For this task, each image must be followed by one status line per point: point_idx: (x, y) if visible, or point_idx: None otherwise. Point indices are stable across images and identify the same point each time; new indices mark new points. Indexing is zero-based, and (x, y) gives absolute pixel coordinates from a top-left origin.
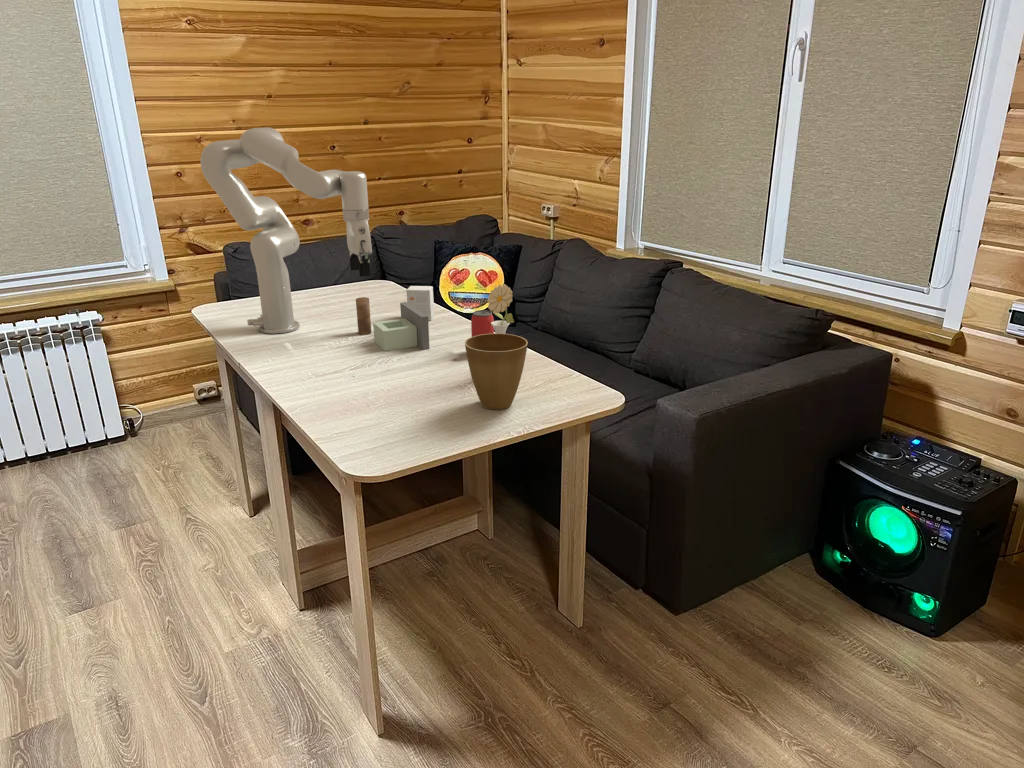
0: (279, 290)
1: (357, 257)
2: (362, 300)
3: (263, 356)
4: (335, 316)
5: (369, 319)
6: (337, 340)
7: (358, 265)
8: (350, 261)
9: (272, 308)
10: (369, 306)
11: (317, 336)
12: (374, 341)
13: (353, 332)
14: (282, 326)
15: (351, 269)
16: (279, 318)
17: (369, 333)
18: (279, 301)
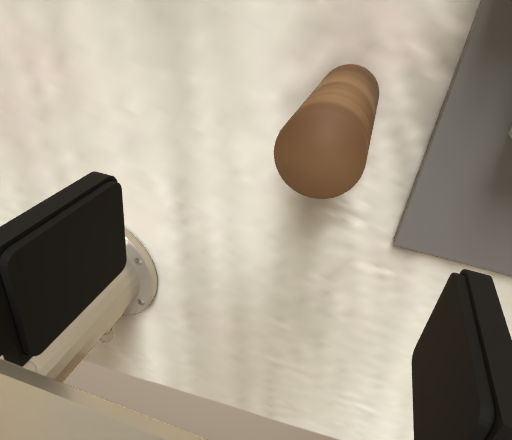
0: (51, 375)
1: (9, 290)
2: (354, 176)
3: (322, 399)
4: (29, 60)
5: (371, 100)
6: (322, 206)
7: (91, 224)
8: (58, 329)
9: (95, 343)
10: (353, 105)
11: (236, 229)
12: (510, 134)
13: (264, 108)
14: (135, 286)
15: (118, 269)
16: (120, 308)
17: (377, 91)
18: (82, 345)
